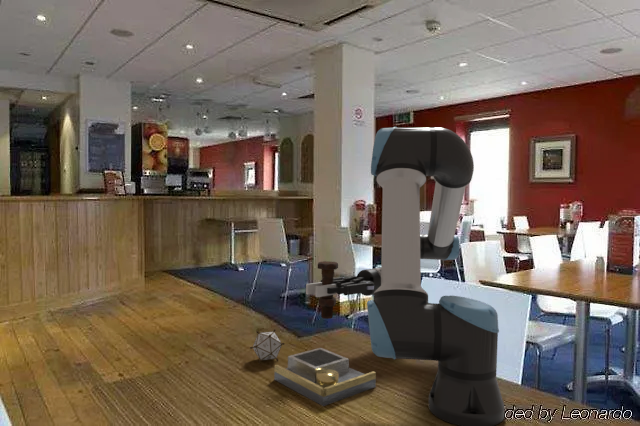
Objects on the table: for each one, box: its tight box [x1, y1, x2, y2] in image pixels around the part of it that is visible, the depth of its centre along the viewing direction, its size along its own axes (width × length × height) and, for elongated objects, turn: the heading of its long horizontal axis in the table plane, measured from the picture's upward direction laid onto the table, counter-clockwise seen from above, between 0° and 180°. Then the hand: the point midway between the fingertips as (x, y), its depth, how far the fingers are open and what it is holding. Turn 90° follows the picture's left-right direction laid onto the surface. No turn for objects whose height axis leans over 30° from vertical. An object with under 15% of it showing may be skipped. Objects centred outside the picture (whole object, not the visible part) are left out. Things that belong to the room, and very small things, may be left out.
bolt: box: [317, 260, 339, 320], centre depth 130 cm, size 6×5×15 cm
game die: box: [249, 328, 286, 364], centre depth 129 cm, size 9×8×10 cm
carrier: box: [273, 347, 377, 407], centre depth 114 cm, size 18×16×5 cm
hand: (311, 290), depth 127 cm, fingers closed on bolt, 3 cm apart
